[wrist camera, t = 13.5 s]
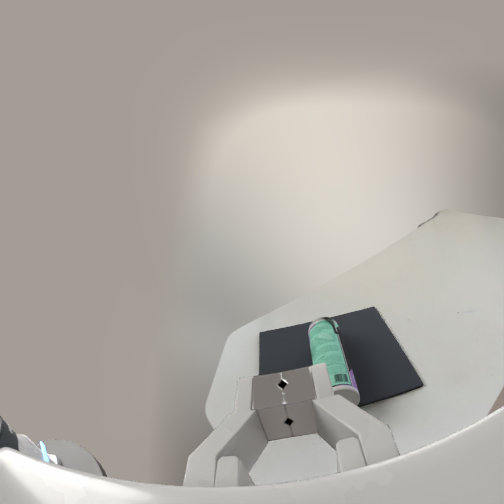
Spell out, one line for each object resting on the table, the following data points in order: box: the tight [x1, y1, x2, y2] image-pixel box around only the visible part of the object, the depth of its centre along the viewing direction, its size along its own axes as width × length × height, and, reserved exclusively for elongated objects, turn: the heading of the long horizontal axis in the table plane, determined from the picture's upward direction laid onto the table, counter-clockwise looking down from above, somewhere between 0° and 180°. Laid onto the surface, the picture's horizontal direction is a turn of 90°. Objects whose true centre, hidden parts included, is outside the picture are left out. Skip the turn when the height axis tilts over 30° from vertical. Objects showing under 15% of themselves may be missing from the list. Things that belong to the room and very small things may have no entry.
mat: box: [259, 307, 423, 407], centre depth 46 cm, size 24×24×1 cm
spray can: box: [308, 317, 360, 406], centre depth 43 cm, size 6×6×20 cm
